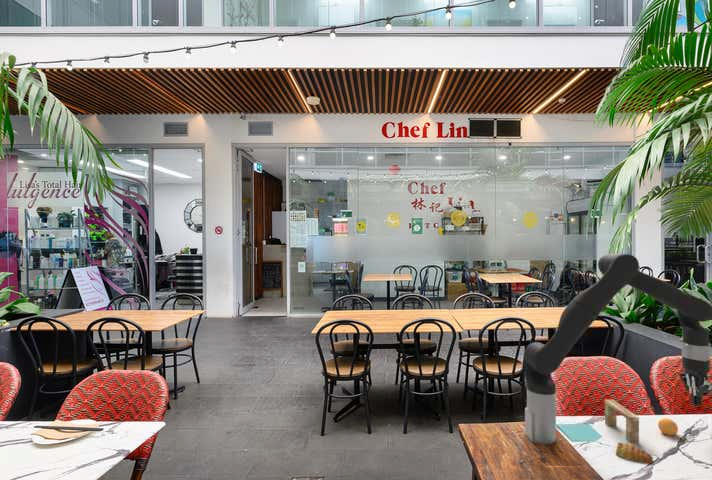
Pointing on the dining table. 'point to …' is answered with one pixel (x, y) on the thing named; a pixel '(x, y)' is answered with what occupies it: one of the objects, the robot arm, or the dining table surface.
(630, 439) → the bridge
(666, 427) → the ball
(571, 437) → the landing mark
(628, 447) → the pastry
